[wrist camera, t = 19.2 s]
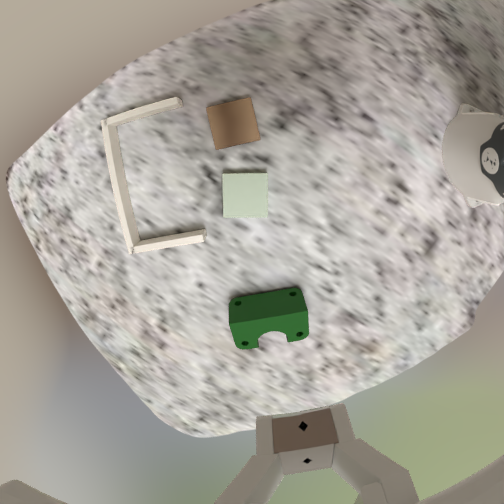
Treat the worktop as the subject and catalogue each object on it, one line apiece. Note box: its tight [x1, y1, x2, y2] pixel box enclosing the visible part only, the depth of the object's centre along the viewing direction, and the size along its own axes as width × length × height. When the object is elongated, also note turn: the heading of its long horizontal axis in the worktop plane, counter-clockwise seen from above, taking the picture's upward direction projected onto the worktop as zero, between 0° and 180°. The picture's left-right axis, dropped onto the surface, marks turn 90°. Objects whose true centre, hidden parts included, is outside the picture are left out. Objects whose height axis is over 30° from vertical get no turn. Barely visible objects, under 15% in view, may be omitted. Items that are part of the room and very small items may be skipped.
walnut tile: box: [206, 97, 260, 150], centre depth 36 cm, size 6×6×2 cm
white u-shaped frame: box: [101, 97, 207, 254], centre depth 37 cm, size 12×20×3 cm, turn 9°
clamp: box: [229, 288, 309, 349], centre depth 43 cm, size 12×6×9 cm, turn 95°
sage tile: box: [222, 173, 268, 218], centre depth 39 cm, size 6×6×2 cm
